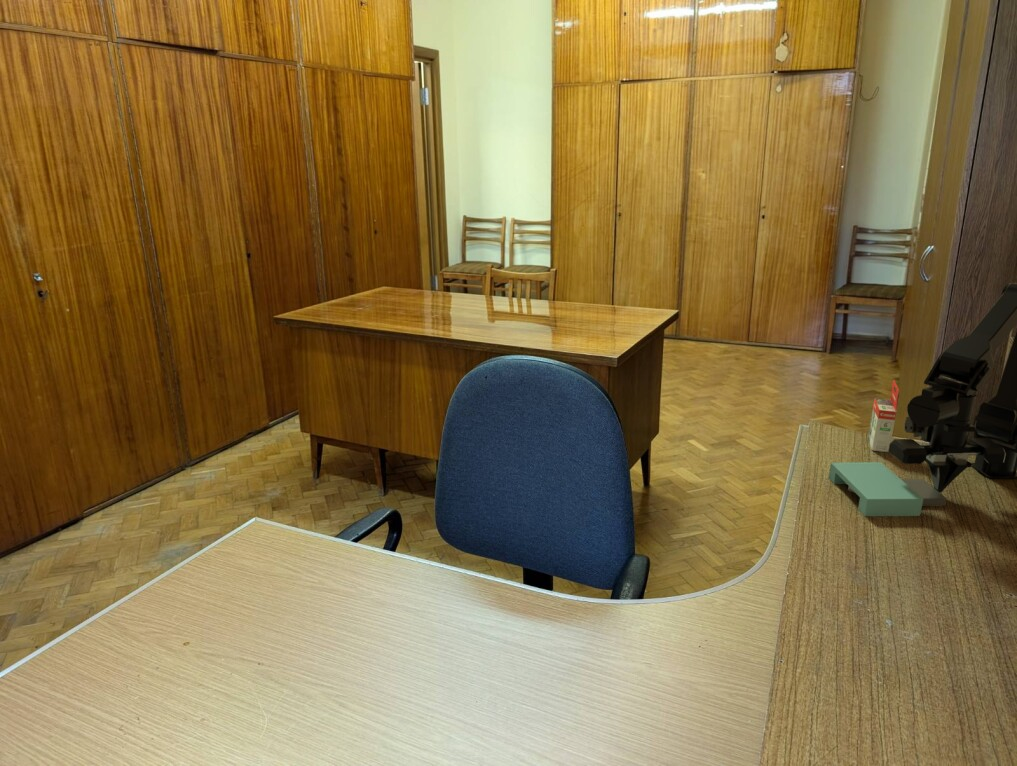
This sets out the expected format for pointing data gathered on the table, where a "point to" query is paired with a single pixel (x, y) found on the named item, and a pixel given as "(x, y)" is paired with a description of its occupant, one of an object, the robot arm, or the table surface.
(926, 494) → the thin grey plate
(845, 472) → the overhang
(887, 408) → the ink box
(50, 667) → the table surface
